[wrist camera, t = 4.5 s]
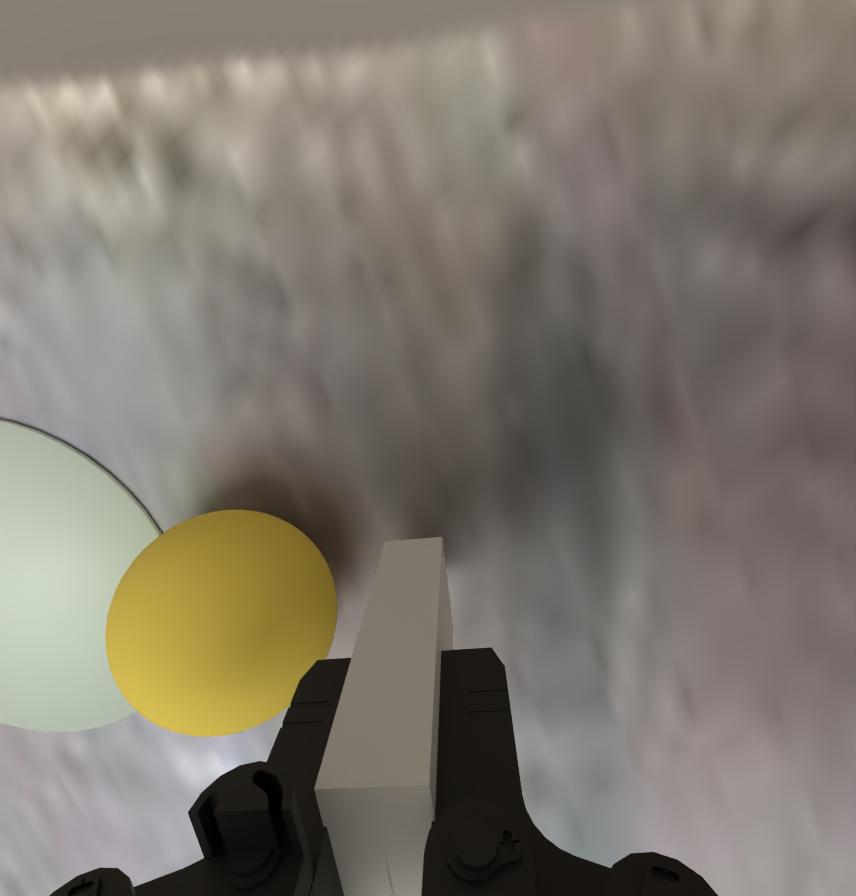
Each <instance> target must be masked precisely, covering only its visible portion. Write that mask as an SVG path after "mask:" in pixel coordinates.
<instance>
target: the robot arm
mask: <svg viewBox="0 0 856 896" xmlns="http://www.w3.org/2000/svg"><path fill="white" fill-rule="evenodd" d="M188 814H189V817H190V820H191V823H192V825H193V828H194V831H195V833H196V836H197V839H198V842H199V844H200V847H201V850H202V853H203V855H204V858H203V859H202V860H200V861H198V862H196V863H194V864H192V865H190V866H188V867H186V868H183V869H181V870H178V871H175V872H173V873H170V874H167V875H165V876H162V877H160V878H157V879H154V880H152V881H149V882H146V883H144V884H141V885H139V886H136V887H133V885H132V883H131V880H130V878H129V877H128V876H127V875H126V874H124V873H123V872H122V871H121V870H119V869H118V868H98V869H95V870H92V871H90V872H87V873H84V874H82V875H79V876H77V877H75V878H74V879H72V880H71V881H69V882H68V883H66V884H65V885H63V886H62V887H60V888H59V889H57V890H56V891H54V892H53V893H52V894H51V895H50V896H718V895H717V894H716V893H715V891H714V890H713V889H712V888H711V887H710V886H709V884H708V883H707V882H706V881H705V880H704V879H703V877H701V876H700V875H699V874H697V873H696V872H694V871H693V870H691V869H690V868H689V867H687V866H686V865H684V864H683V863H681V862H680V861H678V860H676V859H673V858H670V857H667V856H664V855H661V854H658V853H655V852H646V853H632V854H629V855H628V856H626V857H625V858H623V859H621V860H620V861H618V862H617V863H615V864H614V865H613V866H612V868H608V867H605V866H602V865H599V864H596V863H593V862H591V861H588V860H585V859H582V858H579V857H576V856H574V855H572V854H570V853H568V852H566V851H563V850H561V849H559V848H558V847H557V846H555V845H554V844H553V843H552V842H550V841H549V840H548V839H546V838H545V837H544V836H543V834H542V833H541V832H540V831H539V830H538V829H537V827H536V826H535V825H534V824H533V822H532V820H531V818H530V816H529V814H528V812H527V810H526V808H525V804H524V800H523V796H522V790H521V783H520V775H519V768H518V761H517V753H516V746H515V738H514V731H513V724H512V716H511V709H510V701H509V694H508V687H507V679H506V672H505V666H504V665H503V663H502V662H501V660H500V659H499V658H498V656H497V655H496V653H495V652H494V650H493V649H492V648H477V649H461V650H453V622H452V614H451V606H450V598H449V590H448V581H447V573H446V565H445V557H444V549H443V541H442V537H433V538H421V539H409V540H397V541H385V542H384V545H383V549H382V552H381V556H380V559H379V563H378V566H377V570H376V573H375V577H374V581H373V584H372V588H371V591H370V595H369V598H368V602H367V605H366V609H365V612H364V616H363V619H362V623H361V626H360V630H359V633H358V637H357V640H356V644H355V647H354V651H353V654H352V658H342V659H325V660H317V661H316V662H315V663H314V665H313V666H312V667H311V668H310V669H309V670H308V671H307V672H306V674H305V675H304V676H303V677H302V678H301V679H300V681H299V683H298V686H297V688H296V691H295V693H294V696H293V698H292V701H291V706H290V708H288V710H287V713H286V715H285V718H284V720H283V726H282V728H280V730H279V733H278V735H277V738H276V740H275V743H274V745H273V748H272V750H271V753H270V755H269V758H268V760H267V762H261V761H258V762H254V763H249V764H245V765H240V766H238V767H236V768H234V769H233V770H231V771H229V772H227V773H225V774H223V775H221V776H220V777H219V778H218V779H216V780H215V781H214V782H213V783H212V784H211V785H210V786H209V787H207V788H206V789H205V790H204V791H203V792H202V793H201V794H200V796H199V797H198V799H197V800H196V802H195V803H194V805H193V806H192V807H191V809H190V810H189V812H188Z"/></svg>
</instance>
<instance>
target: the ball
mask: <svg viewBox="0 0 856 896" xmlns="http://www.w3.org/2000/svg"><path fill="white" fill-rule="evenodd" d="M336 619H337V595H336V589H335V585H334V580H333V577H332V574H331V572H330V569H329V567H328V564H327V562H326V560H325V559H324V557H323V555H322V554H321V552H320V551H319V549H318V548H317V547H316V546H315V544H314V543H313V542H312V541H311V540H310V539H309V538H308V537H307V536H306V535H305V534H304V533H303V532H302V531H300V530H299V529H297V528H296V527H295V526H293V525H292V524H290V523H288V522H286V521H284V520H282V519H280V518H278V517H275V516H272V515H269V514H266V513H262V512H257V511H251V510H222V511H214V512H210V513H206V514H202V515H199V516H196V517H194V518H191V519H188V520H186V521H183V522H181V523H179V524H177V525H175V526H173V527H172V528H170V529H169V530H167V531H166V532H164V533H163V534H161V535H160V536H158V537H157V538H156V539H155V540H154V541H153V542H151V543H150V544H149V545H148V546H147V547H146V548H144V549H143V550H142V551H141V553H140V554H139V555H138V556H137V557H136V558H135V559H134V561H133V562H132V563H131V565H130V566H129V568H128V569H127V571H126V572H125V574H124V575H123V577H122V578H121V580H120V582H119V584H118V586H117V588H116V590H115V593H114V595H113V598H112V601H111V604H110V608H109V611H108V616H107V623H106V633H105V643H106V653H107V658H108V663H109V667H110V671H111V673H112V676H113V678H114V680H115V682H116V684H117V686H118V688H119V690H120V691H121V693H122V694H123V696H124V697H125V699H126V700H127V701H128V702H129V703H130V704H131V706H132V707H133V708H134V709H135V710H137V711H138V712H139V713H140V714H141V715H143V716H144V717H145V718H146V719H148V720H149V721H151V722H153V723H154V724H156V725H158V726H160V727H163V728H165V729H167V730H170V731H174V732H177V733H181V734H185V735H192V736H204V737H210V736H222V735H228V734H233V733H237V732H241V731H244V730H247V729H249V728H252V727H255V726H257V725H259V724H261V723H263V722H265V721H267V720H269V719H271V718H272V717H274V716H276V715H277V714H279V713H280V712H282V711H283V710H284V709H286V708H287V707H288V706H289V705H291V701H292V698H293V696H294V693H295V691H296V688H297V686H298V683H299V681H300V679H301V678H302V677H303V676H304V675H305V674H306V672H307V671H308V670H309V669H310V668H311V667H312V666H313V665H314V663H315V662H316V661H317V660H325V659H326V657H327V655H328V652H329V649H330V647H331V644H332V641H333V637H334V633H335V628H336Z"/></svg>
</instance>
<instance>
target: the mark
mask: <svg viewBox="0 0 856 896" xmlns="http://www.w3.org/2000/svg"><path fill="white" fill-rule="evenodd" d="M161 534H162V533H161V531H160V530H159V528H158V527H157V526H156V524H155V523H154V521H153V520H152V518H151V517H150V515H149V514H148V513H147V511H146V510H145V509H144V508H143V507H142V505H141V504H140V503H139V502H138V501H137V500H136V498H135V497H134V496H133V495H132V494H131V493H130V492H129V491H128V490H127V489H126V488H125V487H124V486H123V485H122V484H121V483H120V482H119V481H118V480H117V479H115V478H114V477H113V476H112V475H111V474H110V473H109V472H108V471H106V470H105V469H104V468H102V467H101V466H100V465H98V464H97V463H96V462H94V461H93V460H92V459H90V458H89V457H88V456H86V455H84V454H83V453H81V452H79V451H78V450H76V449H74V448H73V447H71V446H69V445H68V444H66V443H64V442H62V441H60V440H58V439H56V438H54V437H52V436H49V435H47V434H45V433H43V432H41V431H39V430H36V429H33V428H30V427H27V426H24V425H21V424H18V423H15V422H11V421H6V420H2V419H0V723H3V724H6V725H10V726H15V727H20V728H24V729H29V730H39V731H48V732H72V731H81V730H89V729H94V728H98V727H102V726H106V725H109V724H112V723H114V722H117V721H119V720H122V719H124V718H126V717H128V716H129V715H131V714H133V713H135V712H137V710H135V709H134V708H133V707H132V706H131V704H130V703H129V702H128V701H127V700H126V699H125V697H124V696H123V694H122V693H121V691H120V690H119V688H118V686H117V684H116V682H115V680H114V678H113V676H112V673H111V671H110V667H109V663H108V658H107V653H106V643H105V633H106V623H107V616H108V611H109V608H110V604H111V601H112V598H113V595H114V593H115V590H116V588H117V586H118V584H119V582H120V580H121V578H122V577H123V575H124V574H125V572H126V571H127V569H128V568H129V566H130V565H131V563H132V562H133V561H134V559H135V558H136V557H137V556H138V555H139V554H140V553H141V551H142V550H143V549H144V548H146V547H147V546H148V545H149V544H150V543H151V542H153V541H154V540H155V539H156V538H157V537H158V536H160V535H161Z"/></svg>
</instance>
